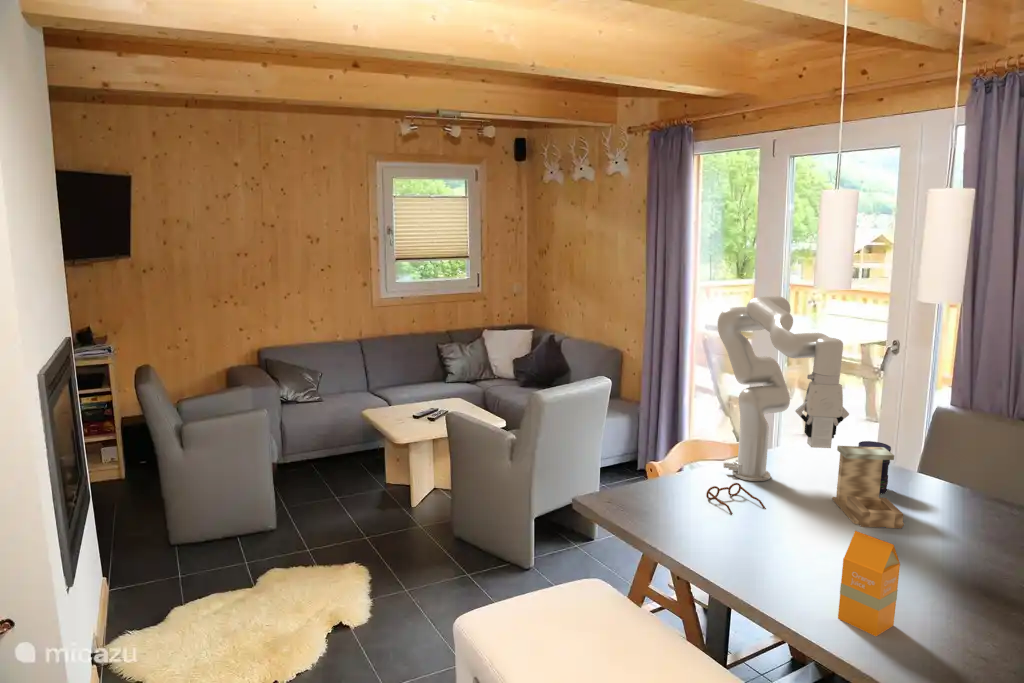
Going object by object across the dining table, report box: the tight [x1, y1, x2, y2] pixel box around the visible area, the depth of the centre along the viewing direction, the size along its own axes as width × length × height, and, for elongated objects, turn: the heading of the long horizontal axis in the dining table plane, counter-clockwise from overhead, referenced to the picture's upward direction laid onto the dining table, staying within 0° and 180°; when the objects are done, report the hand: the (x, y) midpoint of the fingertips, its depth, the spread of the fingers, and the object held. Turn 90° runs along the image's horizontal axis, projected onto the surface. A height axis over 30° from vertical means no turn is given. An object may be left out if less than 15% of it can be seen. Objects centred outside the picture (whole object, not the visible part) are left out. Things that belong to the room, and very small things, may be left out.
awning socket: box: [831, 445, 905, 529], centre depth 220 cm, size 14×21×18 cm
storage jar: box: [857, 440, 892, 495], centre depth 241 cm, size 10×10×15 cm
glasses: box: [705, 482, 767, 515], centre depth 227 cm, size 13×13×5 cm
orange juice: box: [837, 530, 901, 637], centre depth 160 cm, size 8×9×20 cm
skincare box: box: [806, 417, 834, 449], centre depth 221 cm, size 6×4×12 cm
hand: (819, 435), depth 221 cm, fingers closed on skincare box, 6 cm apart
